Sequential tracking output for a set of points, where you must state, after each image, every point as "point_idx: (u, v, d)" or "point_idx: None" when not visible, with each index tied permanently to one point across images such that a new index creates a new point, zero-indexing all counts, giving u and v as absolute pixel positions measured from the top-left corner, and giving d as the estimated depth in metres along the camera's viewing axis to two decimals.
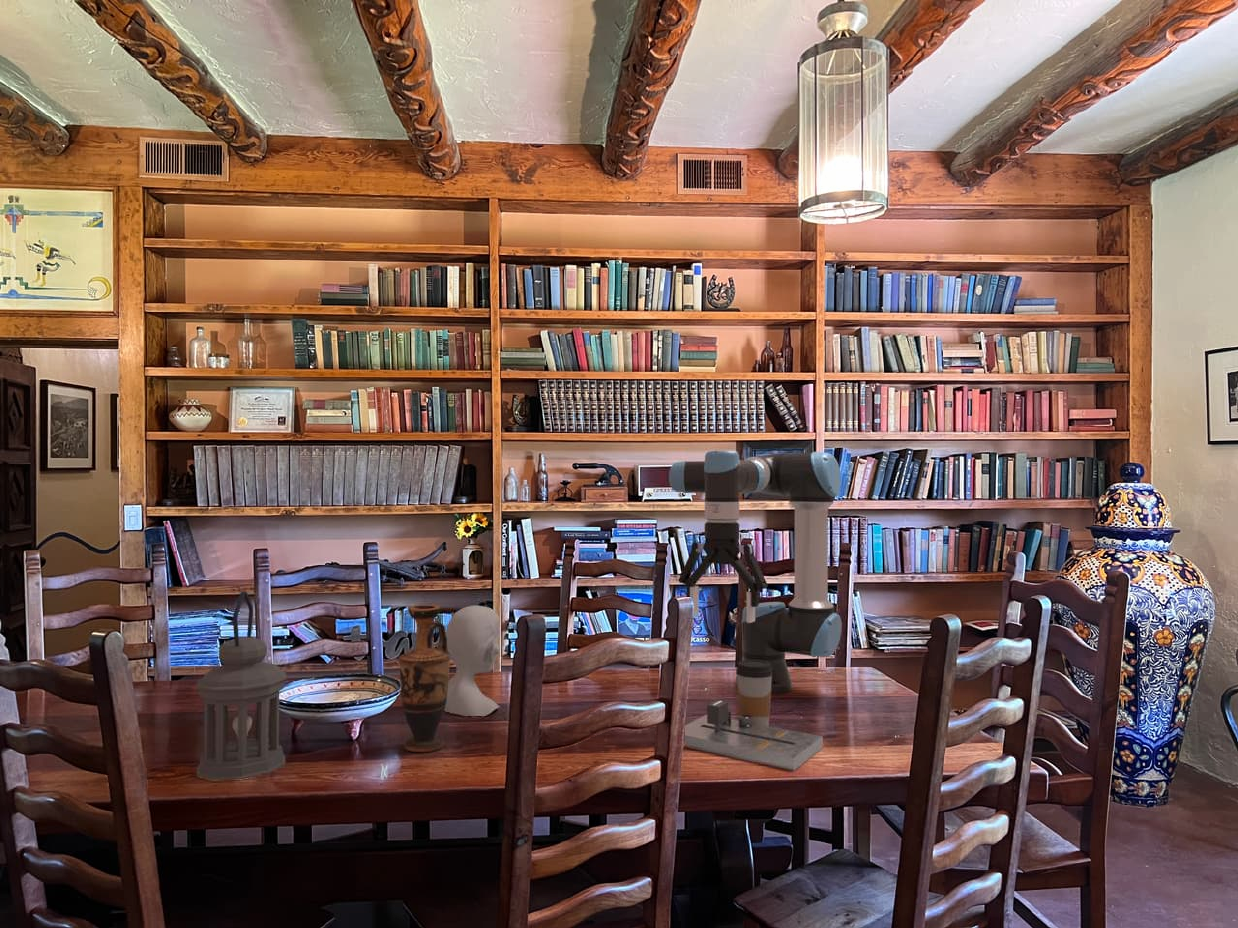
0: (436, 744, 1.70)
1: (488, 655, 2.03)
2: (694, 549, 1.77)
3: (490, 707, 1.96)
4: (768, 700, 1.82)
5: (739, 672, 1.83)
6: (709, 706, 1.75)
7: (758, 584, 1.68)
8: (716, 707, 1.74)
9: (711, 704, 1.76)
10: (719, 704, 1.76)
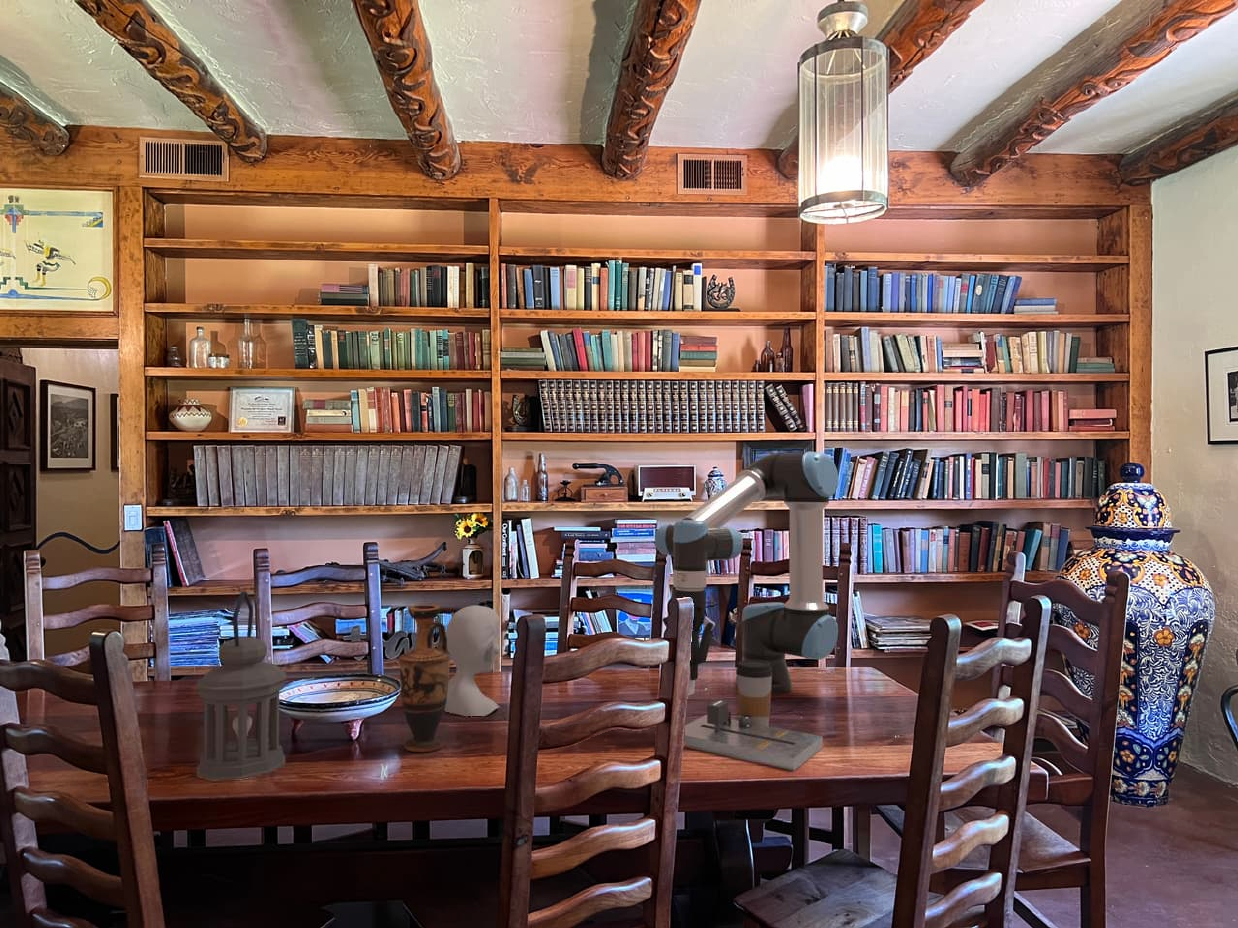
0: (436, 744, 1.70)
1: (488, 655, 2.03)
2: None
3: (490, 707, 1.96)
4: (768, 700, 1.82)
5: (739, 672, 1.83)
6: (709, 706, 1.75)
7: (698, 658, 1.78)
8: (716, 707, 1.74)
9: (711, 704, 1.76)
10: (719, 704, 1.76)
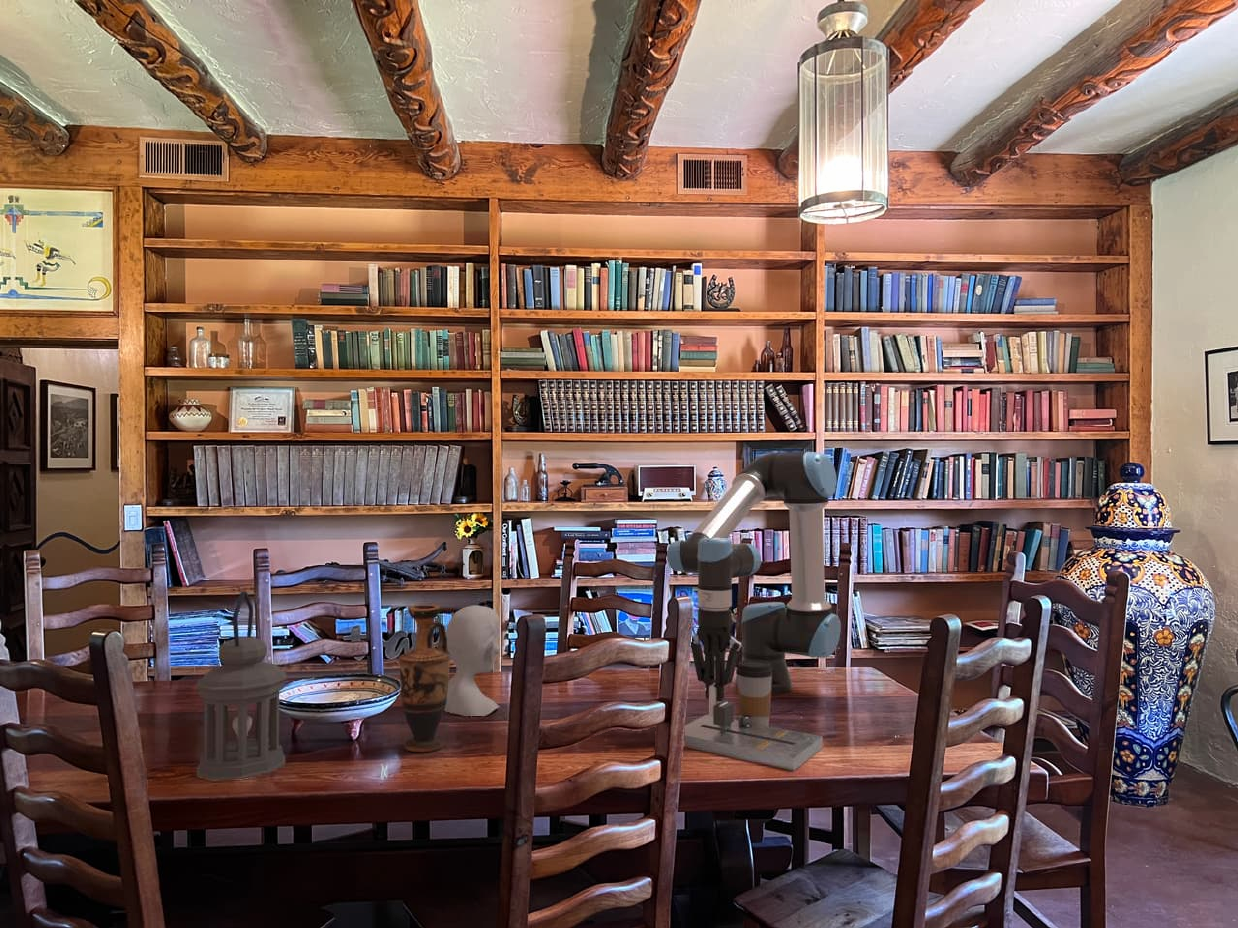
0: (436, 744, 1.70)
1: (488, 655, 2.03)
2: (692, 643, 1.79)
3: (490, 707, 1.96)
4: (768, 700, 1.82)
5: (739, 672, 1.83)
6: (715, 707, 1.74)
7: (724, 679, 1.74)
8: (722, 708, 1.73)
9: (717, 705, 1.75)
10: (725, 705, 1.75)
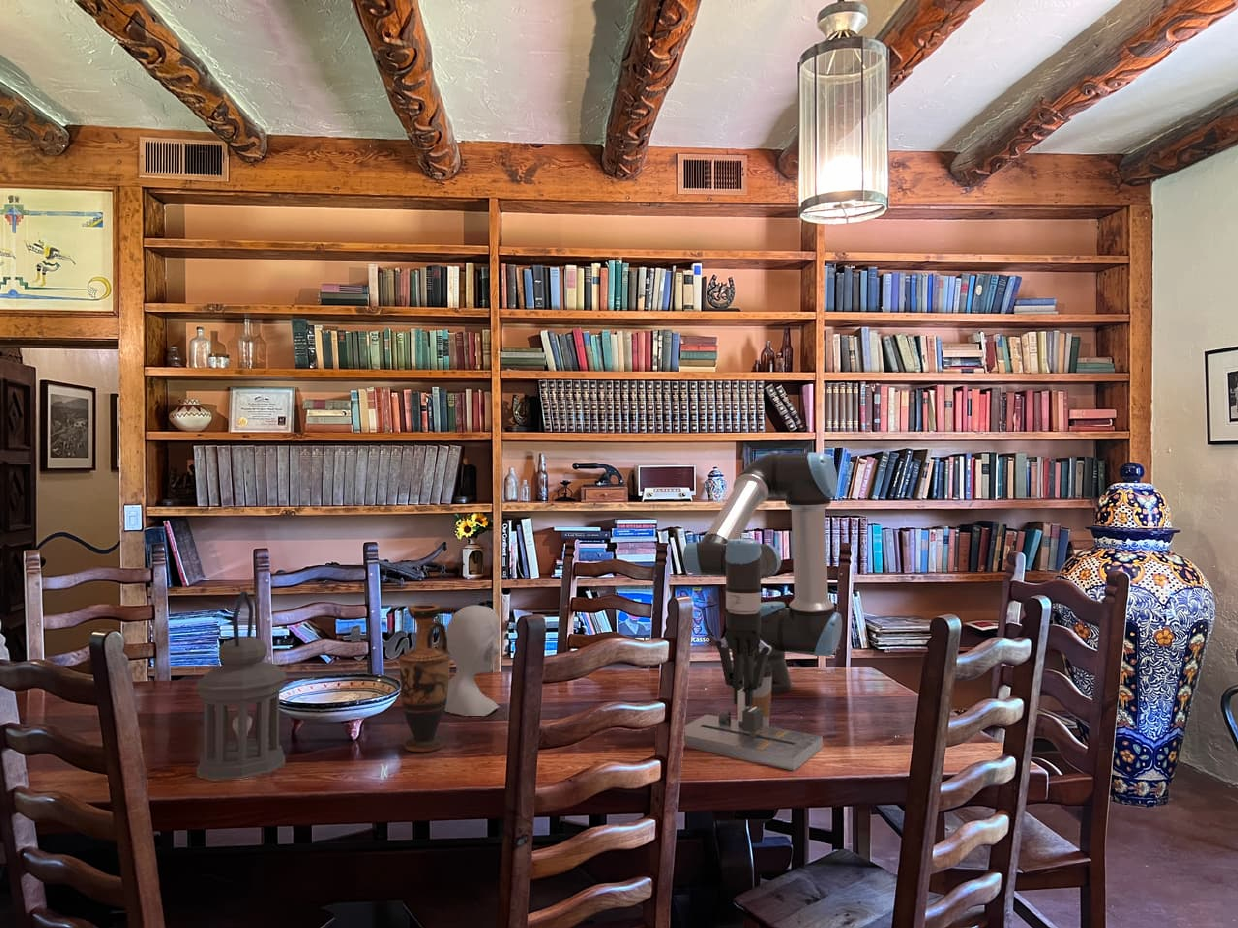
0: (436, 744, 1.70)
1: (488, 655, 2.03)
2: (720, 646, 1.75)
3: (490, 707, 1.96)
4: (768, 700, 1.82)
5: None
6: (744, 712, 1.71)
7: (753, 684, 1.70)
8: (752, 713, 1.70)
9: (746, 710, 1.71)
10: (754, 710, 1.71)
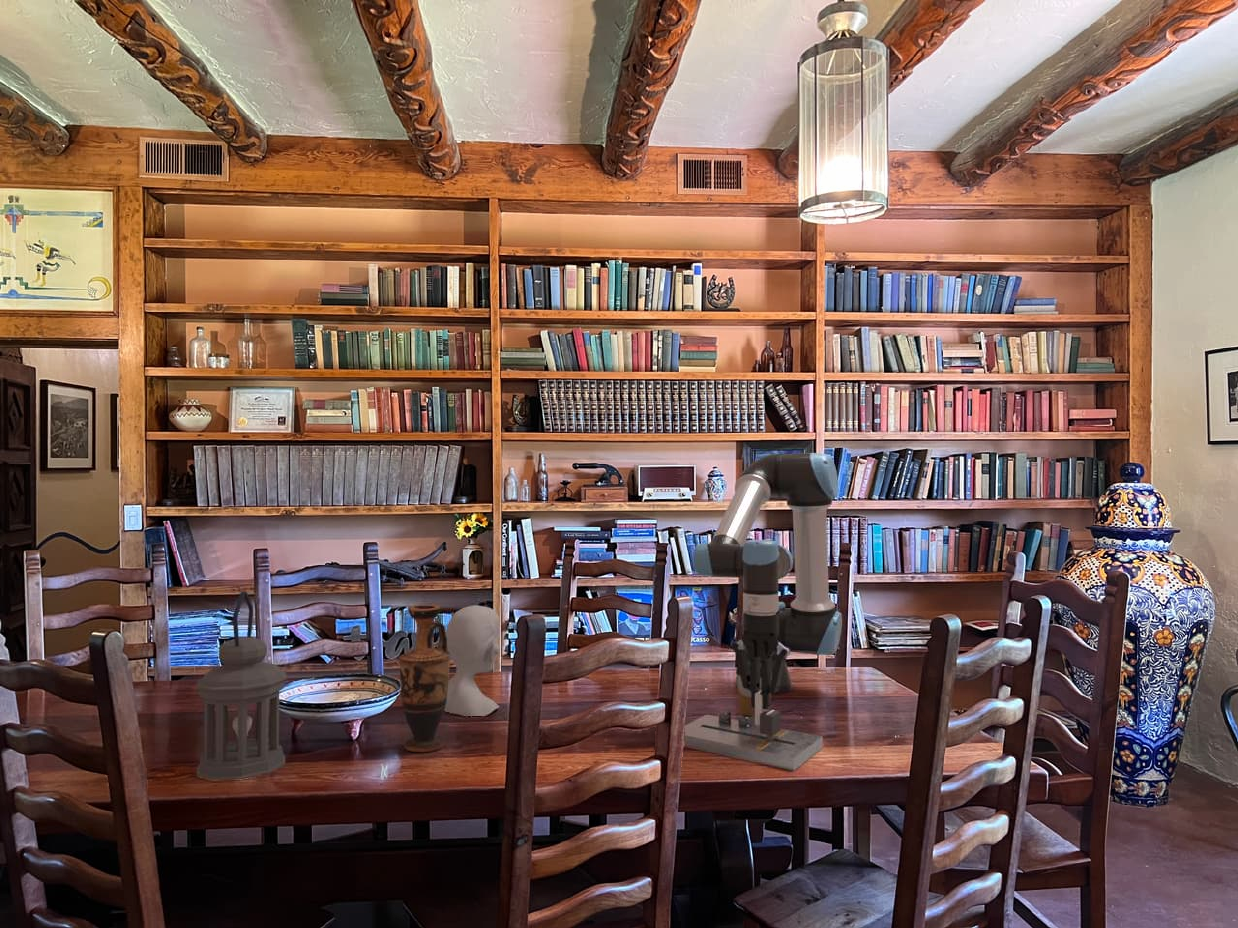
0: (436, 744, 1.70)
1: (488, 655, 2.03)
2: (737, 649, 1.73)
3: (490, 707, 1.96)
4: None
5: (739, 672, 1.83)
6: (762, 716, 1.68)
7: (771, 687, 1.68)
8: (769, 717, 1.67)
9: (764, 713, 1.69)
10: (772, 713, 1.69)
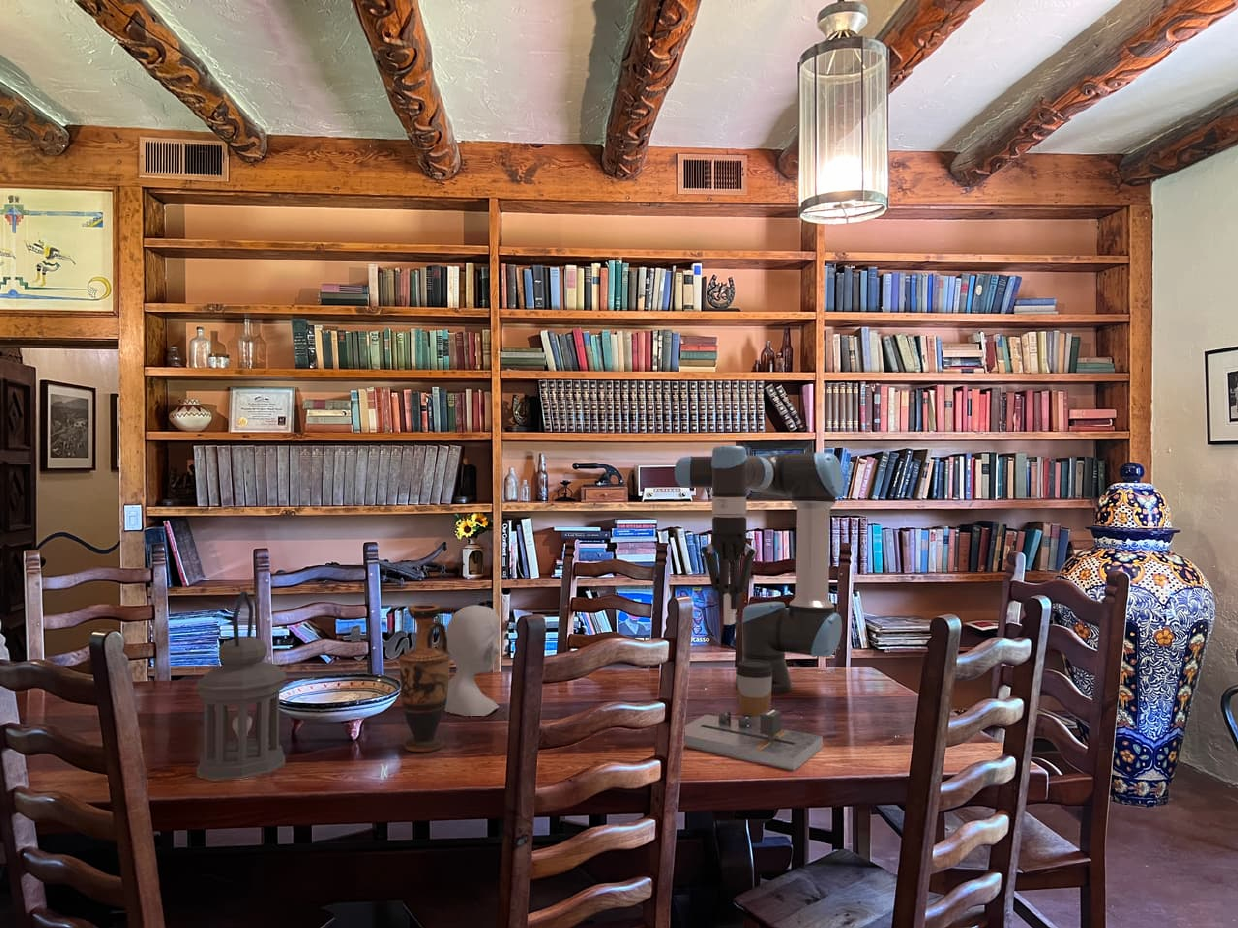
0: (436, 744, 1.70)
1: (488, 655, 2.03)
2: (706, 552, 1.77)
3: (490, 707, 1.96)
4: (768, 700, 1.82)
5: (739, 672, 1.83)
6: (762, 716, 1.68)
7: (739, 586, 1.73)
8: (770, 717, 1.67)
9: (764, 714, 1.69)
10: (772, 714, 1.69)
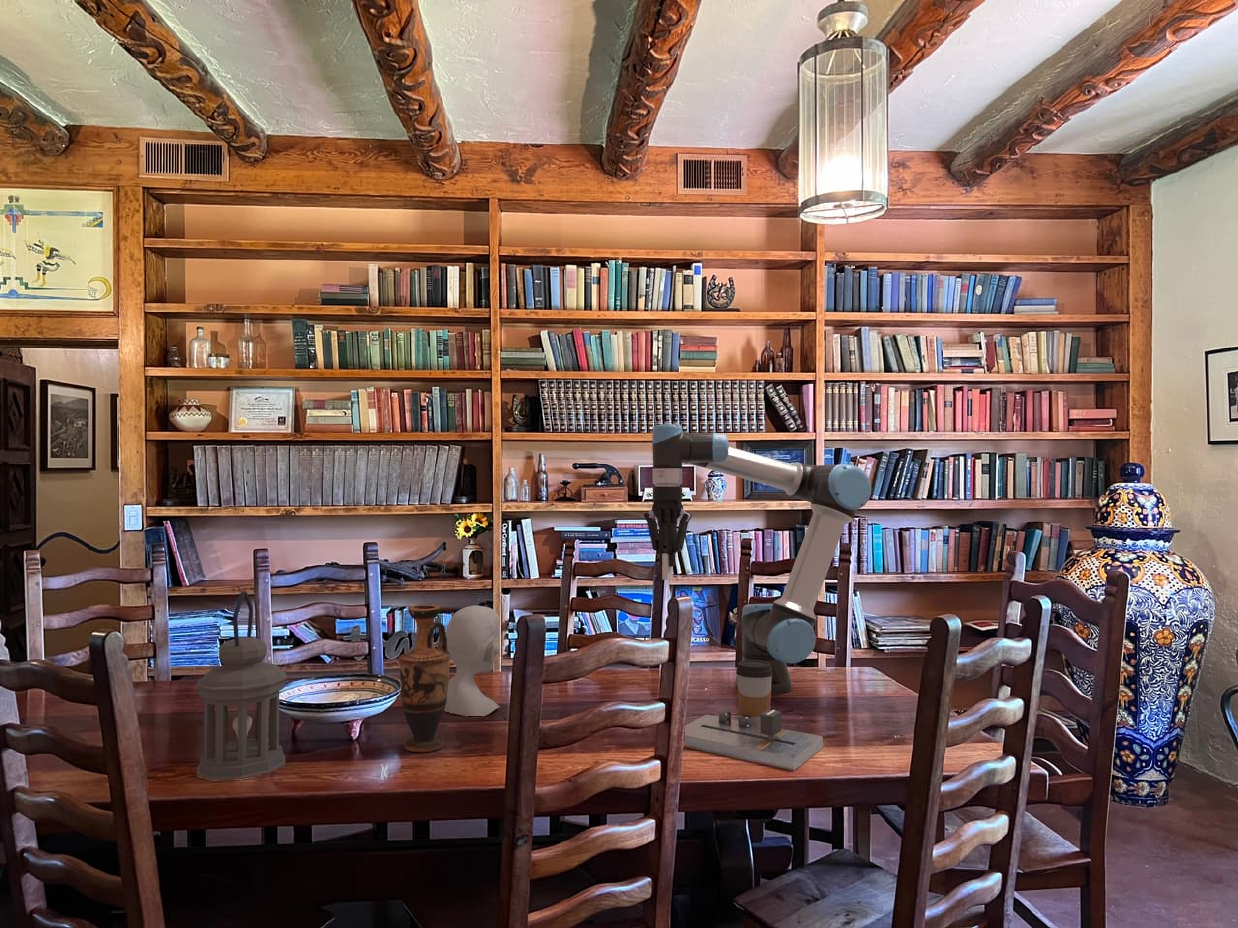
0: (436, 744, 1.70)
1: (488, 655, 2.03)
2: (648, 517, 2.04)
3: (490, 707, 1.96)
4: (768, 700, 1.82)
5: (739, 672, 1.83)
6: (762, 716, 1.68)
7: (675, 546, 1.99)
8: (770, 717, 1.67)
9: (764, 714, 1.69)
10: (772, 714, 1.69)
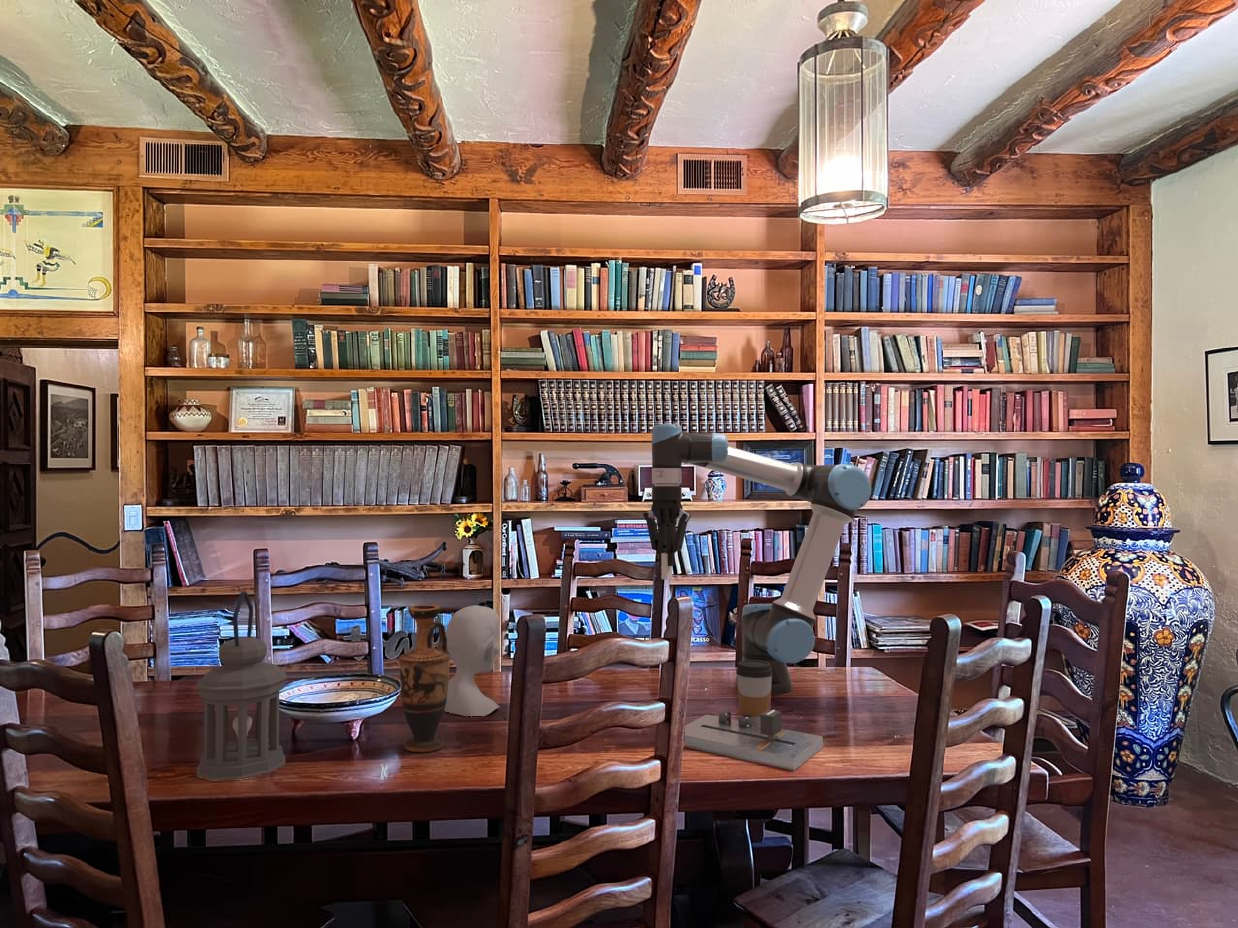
0: (436, 744, 1.70)
1: (488, 655, 2.03)
2: (647, 517, 2.04)
3: (490, 707, 1.96)
4: (768, 700, 1.82)
5: (739, 672, 1.83)
6: (762, 716, 1.68)
7: (674, 546, 1.99)
8: (770, 717, 1.67)
9: (764, 714, 1.69)
10: (772, 714, 1.69)
